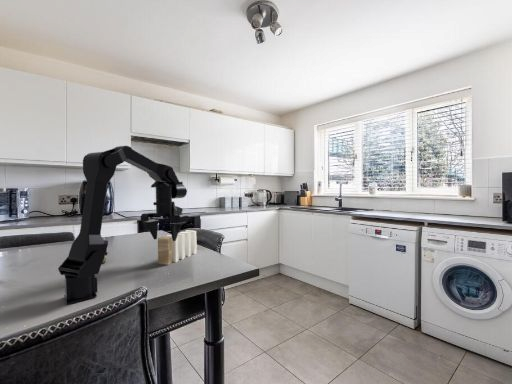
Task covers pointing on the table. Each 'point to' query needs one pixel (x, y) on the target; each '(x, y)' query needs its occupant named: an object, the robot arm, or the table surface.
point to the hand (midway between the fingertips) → (164, 240)
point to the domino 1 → (164, 251)
